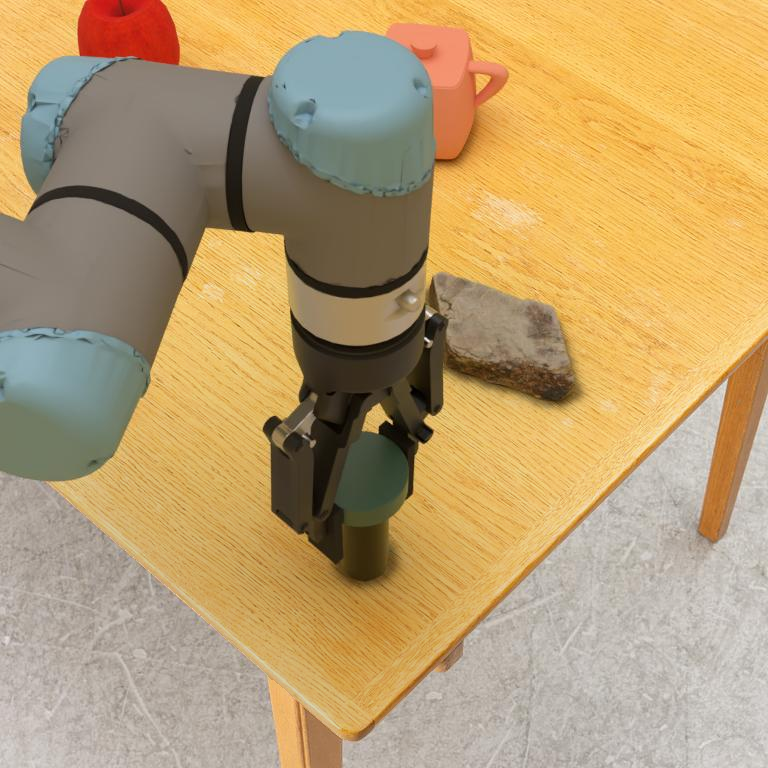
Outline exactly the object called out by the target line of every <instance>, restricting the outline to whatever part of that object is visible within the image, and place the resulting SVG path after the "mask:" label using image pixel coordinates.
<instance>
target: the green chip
mask: <svg viewBox="0 0 768 768" xmlns="http://www.w3.org/2000/svg"><path fill="white" fill-rule="evenodd" d="M408 477H409V468H408V462H407V459H406V457H405V455H404V453H403V451H402V450H401V449H400V448H399V446H398V445H397V444H395V443H394V442H393V441H392V440H390V439H389V438H387V437H385V436H383V435H380V434H379V432H378V433H377V432H374V431H369V430H362V432H361V435H360V438H359V440H357V441H356V442H354V443H352V444H351V445H350V448H349V452H348V455H347V459H346V462H345V466H344V469H343V472H342V476H341V479H340V483H339V486H338V490H337V493H336V497H335V500H334V503H335V504H337V505H338V506H339V507H340V508H342V524H345V525H349V526H355V527H365V526H372V525H376V524H379V523H381V522H384V521H386V520H387V519H389V520H390V519H391V518H392V517H393V516H395V515H396V514H397V513H398V512H400V509H401V508H402V507H403V505H404V503H405V502H406V500H405V499H406V497H407V492H408Z"/></svg>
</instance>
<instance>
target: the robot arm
mask: <svg viewBox="0 0 768 768" xmlns="http://www.w3.org/2000/svg"><path fill="white" fill-rule="evenodd" d="M329 37H330V36H325V35H321V34H318V35H314V36H310V37H309V38H306V39H304V40H302V41H300V42H298V43H296V44H295V45H294V46H292V47H291V48H290V49H288V50H287V51H286V53H284V54H283V56H282V57H281V59H279V60H278V62H277V64H276V66H275V68H274V71H273V73H272V74H269V75H266V76H261V75H254V74H247V73H241V72H240V73H239V72H231V71H225V70H217V69H208V68H201V67H193V66H186V65H185V66H184V65H180V64H179V65H172V64H165V63H158V62H150V61H145V60H143V59H141V58H137V57H133V56H129V57H115V58H102V57H87V56H80V55H73V54H72V55H69V54H68V55H62V56H59V57H57V58H53V59H52V60H50V61H48V63H46V64H44V66H43V67H41V69H40V70H39V71H38V72H37V73H36V75H35V77H34V79H33V80H32V82H31V84H30V86H29V88H28V91H27V96H26V97H27V98H26V100H27V105H26V107H27V108H26V111H25V113H24V114H23V115H22V116H21V120H20V133H19V149H20V158H21V164H22V168H23V171H24V176H25V178H26V180H27V183H28V185H29V187H30V188H31V190H32V191H33V192H34V194H35V195H36V196H35V198H34V200H33V203H32V205H31V206H30V208H29V210H28V212H27V214H26V216H25V217H24V219H23V220H21V219H19V218H16V217H14V216H12V215H8V214H6V213H3V212H0V472H2V473H5V474H7V475H10V476H13V477H18V478H21V479H27V480H32V481H38V482H49V483H50V482H68V481H74V480H78V479H81V478H84V477H87V476H89V475H92V474H94V473H95V472H96V471H98V470H99V469H101V468H103V467H104V466H105V464H106V463H108V461H109V460H110V459H112V458H113V457H114V456H115V454H116V452H117V451H118V448H119V446H120V444H121V442H122V440H123V437H124V435H125V433H126V431H127V429H128V426H129V424H130V421H131V419H132V417H133V415H134V413H135V411H136V408H137V406H138V404H139V402H140V399H143V398H144V396H146V393H147V392H148V390H149V387H150V384H151V381H152V378H151V371H152V368H153V366H154V362H155V361H156V357H157V355H158V352H159V349H160V347H161V343H162V341H163V338H164V336H165V333H166V330H167V328H168V324H169V322H170V319H171V317H172V314H173V311H174V309H175V306H176V303H177V301H178V298H179V295H180V292H181V291H182V288H183V287H184V284H185V282H186V280H187V278H188V276H189V273H190V270H191V268H192V265H193V263H194V260H195V257H196V255H197V252H198V250H199V247H200V244H201V242H202V239H203V236H204V234H205V232H206V229H214V230H224V231H234V232H242V233H249V234H250V233H252V234H254V233H264V234H272V235H279V236H283V248H284V249H283V250H284V258H285V271H286V273H285V274H286V285H287V301H288V305H289V316H290V329H291V338H292V339H291V341H292V348H293V349H292V350H293V352H294V357H295V359H296V361H297V364H298V366H299V369H300V371H301V374H302V377H303V379H302V382H301V386H300V389H299V391H298V395H297V397H298V402H299V405H298V406H296V407H295V409H294V410H293V411H292V412H291V413H290V414H289V415H288V416H287V417H284V418H282V419H281V418H280V417H278V415H272V416H270V417H269V418H268V419H266V421H265V422H264V424H263V426H262V432H263V434H264V435H265V438H266V439H267V440H268V442H269V443H270V448H269V449H270V511H271V513H273V514H274V515H275V516H276V517H277V518H278V519H279V520H281V521H282V522H283V523H284V524H286V526H287V527H289V528H290V529H291V530H292V531H293V532H295V533H296V534H297V535H298V536H301V535H304V534H305V535H306V536H307V542H309V543H310V544H311V545H312V546H313V547H314V548H315V549H317V550H318V551H319V552H320V553H321V554H322V555H324V556H325V557H326V558H327V559H328V560H330V561H331V562H332V563H333V564H334V565H337V564H339V563H340V561H341V560H342V559H343V558H344V556H343V532H342V508H340V507H339V506H338V505H337V504H335V503H334V500H335V497H336V493H337V490H338V486H339V483H340V479H341V476H342V472H343V469H344V466H345V462H346V459H347V455H348V452H349V448H350V445H351V444H352V443H354V442H356V441H357V440H359V438H360V435H361V432H362V431H363V428H364V424H365V422H366V419H367V415H368V413H370V412H371V411H372V410H373V408H374V407H375V406H377V405H378V404H379V405H380V407H381V408H382V410H383V412H384V414H385V415H386V417H387V418H388V419H389V420H390V421H392V423H391V422H389V421H388V420H387V419H385V420H384V421H383V422H382V423H380V424H379V425H378V434H380V435H383V436H385V437H387V438H389V439H390V440H392V441H393V442H394V443H395V444H397V445H398V446H399V448H400V449H401V450H402V451H403V453H404V455H405V457H406V459H407V462H408V468H409V477H408V492H407V497H406V499H405V501H407V500H408V499H409V498H410V497H412V496H413V494H414V483H415V481H414V479H415V462H416V461H415V460H416V455H417V454H418V451H419V445H420V444H419V443H421V444H422V445H426V444H427V443H428V442H429V441H430V440H431V439H432V437H433V436H434V434H435V430H434V429H433V428H432V427H430V426H429V425H428V424H426V422H425V419H426V418H427V417H428V416H431V417H436V416H437V415H439V413H441V412H442V410H443V407H444V404H445V403H444V400H445V399H444V362H443V341H444V337H445V334H446V330H447V327H448V323H449V320H448V319H447V318H446V317H444V316H443V315H441V314H440V313H438V312H437V311H436V310H434V309H433V308H431V305H428V304H427V303H426V294H427V293H426V292H427V291H426V289H427V264H428V253H429V246H430V232H431V231H430V230H431V219H432V206H433V205H432V204H433V193H434V177H435V166H436V159H435V157H436V149H437V142H436V139H435V137H434V116H433V87H432V83H431V79H430V76H429V74H428V72H427V70H426V68H425V67H424V65H423V63H422V62H421V61H420V60H419V59H418V57H417V56H416V55H415V54H414V53H413V52H412V51H410V50H409V49H408V48H406V47H405V46H403V45H402V44H400V43H398V42H396V41H395V40H393V39H390V38H388V37H385V35H383V34H380V33H375V32H370V31H369V32H368V31H364V30H351V29H350V30H347V29H346V30H342V31H340V32H339V35H337V36H334V37H332V38H329Z"/></svg>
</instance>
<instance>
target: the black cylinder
mask: <svg viewBox="0 0 768 768" xmlns="http://www.w3.org/2000/svg"><path fill="white" fill-rule="evenodd" d="M342 532H343V556H344V558H343V559H342V560H341V561H339V563H340V566H341V567H340V568H341V569H342V571H343V573H344V574H345V575H346V576H348V577H349V578H351V579H352V580H355V581H360V582H370V581H373V580H376V579H377V578H379V577H381V576H382V575H383V574H384V573H385V571H386V570H387V568H388V565H389V556H390V555H389V554H390V553H389V549H390V547H389V545H390V544H389V542H390V518H389V519H387V520H386V521H384V522H381V523H379V524H376V525H372V526H365V527H355V526H349V525H345V524H342Z"/></svg>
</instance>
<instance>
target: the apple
mask: <svg viewBox="0 0 768 768" xmlns="http://www.w3.org/2000/svg"><path fill="white" fill-rule="evenodd" d="M76 33H77V34H76V35H77V47H78V53H79V56H87V57H102V58H115V57H129V56H133V57H137V58H141V59H143V60H145V61H150V62H158V63H165V64H172V65H179V66H180V60H181V45H180V41H179V36H178V32H177V27H176V24H175V22H174V20H173V17H172V15H171V13H170V11H169V9H168V7H167V5H165V3H164V2H163V1H162V0H85V1H84V4H83V5H82V8H81V11H80V13H79V16H78V18H77V29H76Z"/></svg>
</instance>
